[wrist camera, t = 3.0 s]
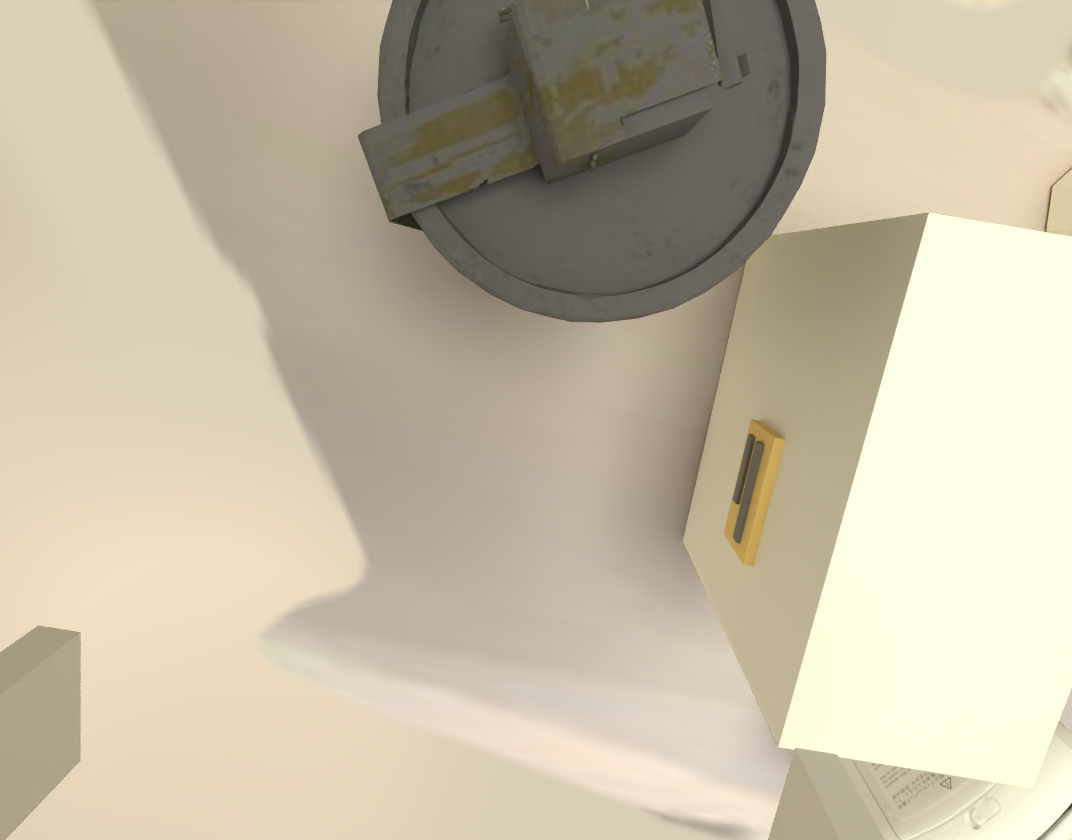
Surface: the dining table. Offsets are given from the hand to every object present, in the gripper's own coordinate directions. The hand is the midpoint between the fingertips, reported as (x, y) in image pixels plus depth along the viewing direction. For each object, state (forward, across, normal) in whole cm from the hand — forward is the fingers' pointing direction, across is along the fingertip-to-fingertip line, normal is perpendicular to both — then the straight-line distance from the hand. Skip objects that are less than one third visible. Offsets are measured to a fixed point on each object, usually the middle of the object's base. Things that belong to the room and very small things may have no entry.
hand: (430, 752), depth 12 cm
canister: (+24, +1, +12) cm, 27 cm away
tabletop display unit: (+24, +14, +4) cm, 28 cm away
